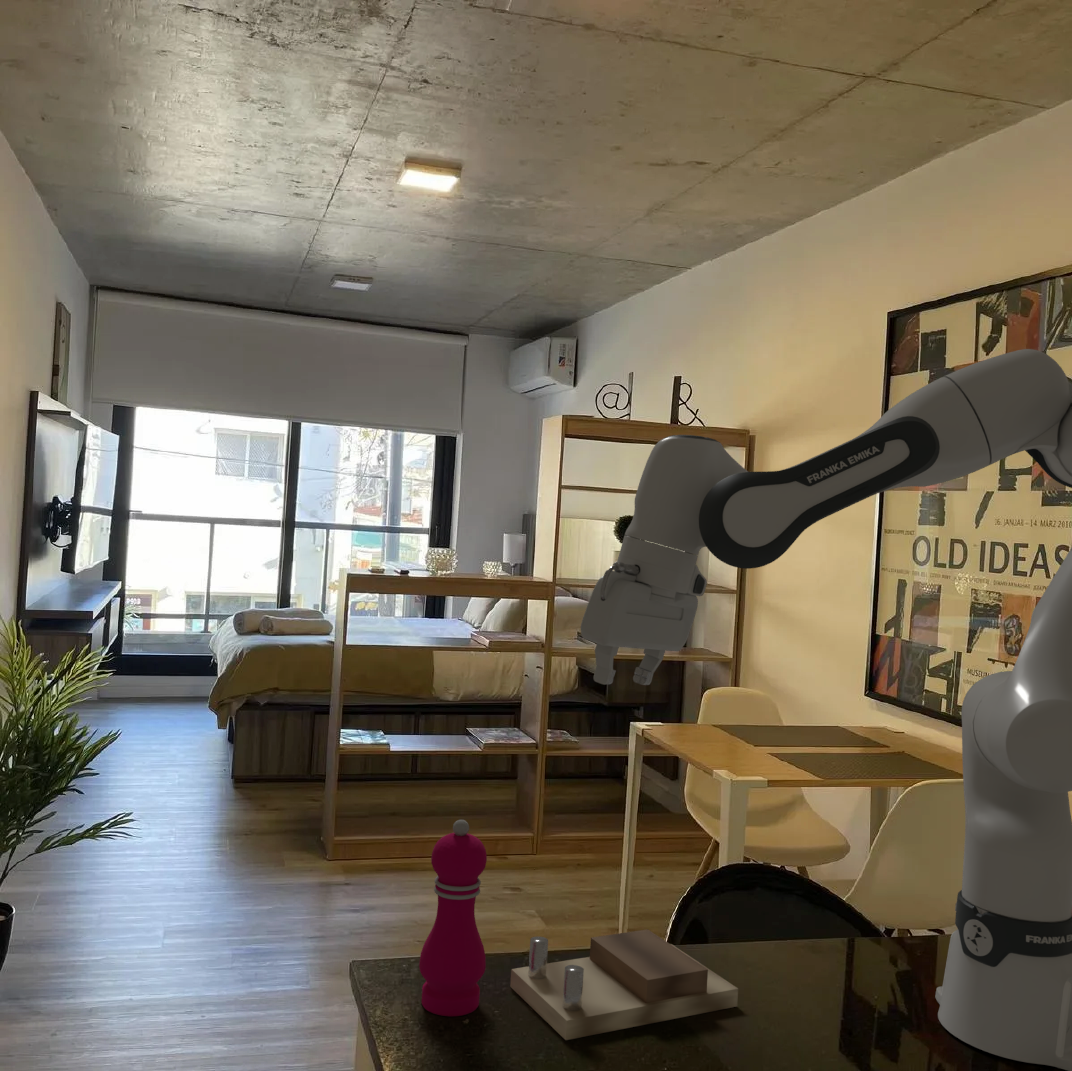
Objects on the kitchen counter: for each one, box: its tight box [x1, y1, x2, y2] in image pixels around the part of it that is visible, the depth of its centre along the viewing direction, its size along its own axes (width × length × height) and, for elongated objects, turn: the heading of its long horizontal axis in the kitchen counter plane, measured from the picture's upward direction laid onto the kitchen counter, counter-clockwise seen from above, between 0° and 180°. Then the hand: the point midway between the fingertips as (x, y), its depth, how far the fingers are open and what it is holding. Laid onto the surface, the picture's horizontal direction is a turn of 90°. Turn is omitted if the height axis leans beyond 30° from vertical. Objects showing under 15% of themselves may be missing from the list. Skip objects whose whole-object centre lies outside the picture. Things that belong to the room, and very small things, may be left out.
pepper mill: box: [418, 819, 488, 1017], centre depth 111 cm, size 7×7×20 cm
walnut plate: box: [589, 929, 709, 1003], centre depth 117 cm, size 8×12×2 cm, turn 27°
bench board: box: [509, 936, 739, 1041], centre depth 115 cm, size 22×13×6 cm, turn 117°
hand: (622, 683), depth 119 cm, fingers open, 8 cm apart
